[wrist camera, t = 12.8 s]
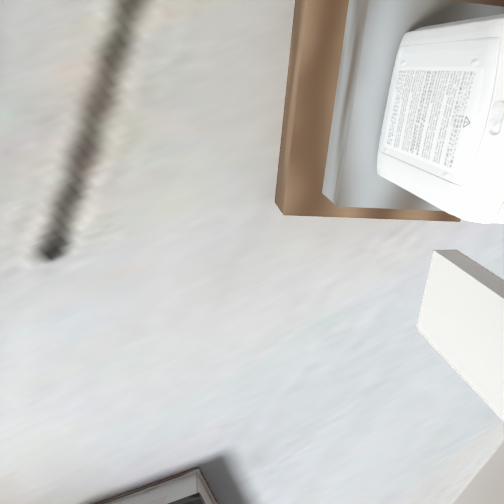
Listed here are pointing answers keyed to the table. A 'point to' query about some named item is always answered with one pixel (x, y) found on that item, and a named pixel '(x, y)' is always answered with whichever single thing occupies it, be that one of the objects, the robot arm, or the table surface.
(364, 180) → the grey block on wood
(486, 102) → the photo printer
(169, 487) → the book
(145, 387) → the table surface
